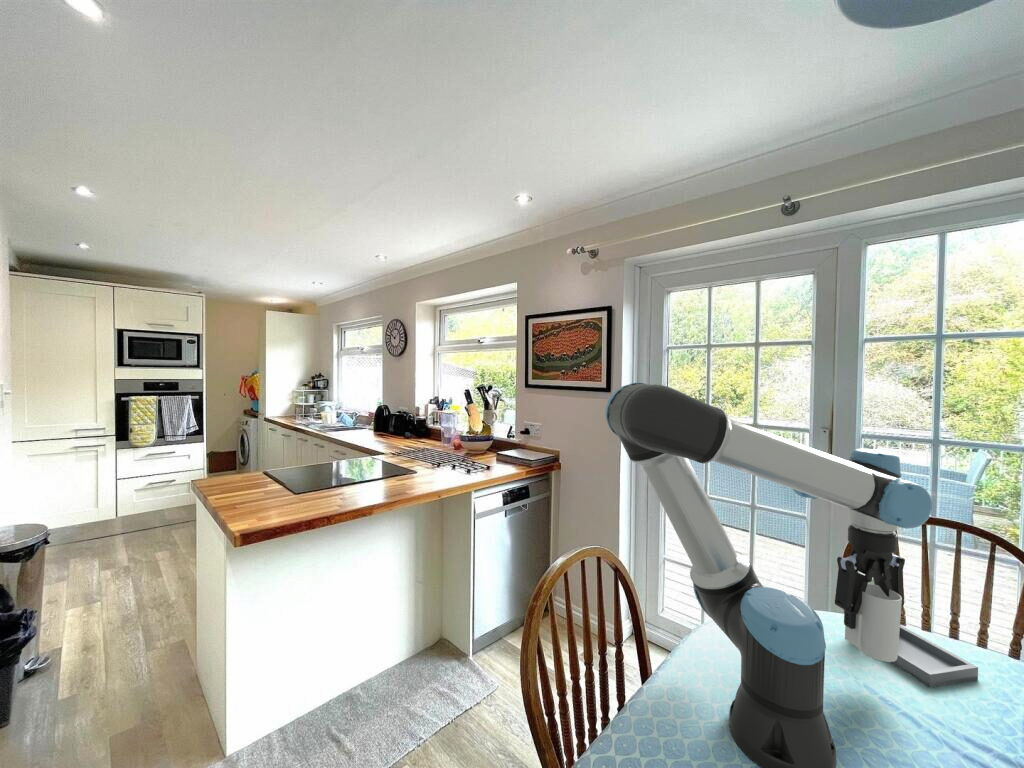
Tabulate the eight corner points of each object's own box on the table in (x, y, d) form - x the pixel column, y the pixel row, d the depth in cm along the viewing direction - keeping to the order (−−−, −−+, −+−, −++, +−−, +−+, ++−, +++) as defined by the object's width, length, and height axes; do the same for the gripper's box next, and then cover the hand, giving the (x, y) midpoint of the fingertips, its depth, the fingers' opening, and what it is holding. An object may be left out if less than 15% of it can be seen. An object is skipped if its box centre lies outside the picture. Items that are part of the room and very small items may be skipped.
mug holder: (929, 687, 83) (931, 617, 83) (851, 637, 99) (852, 578, 99) (977, 679, 85) (979, 611, 85) (893, 632, 101) (894, 574, 101)
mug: (908, 660, 81) (910, 598, 81) (883, 666, 79) (886, 602, 79) (852, 629, 90) (854, 574, 90) (829, 634, 89) (831, 577, 88)
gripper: (849, 537, 79) (844, 658, 79) (933, 532, 82) (928, 648, 83) (814, 523, 86) (809, 634, 87) (892, 519, 90) (888, 626, 90)
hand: (867, 641), depth 85 cm, fingers closed on mug, 6 cm apart
